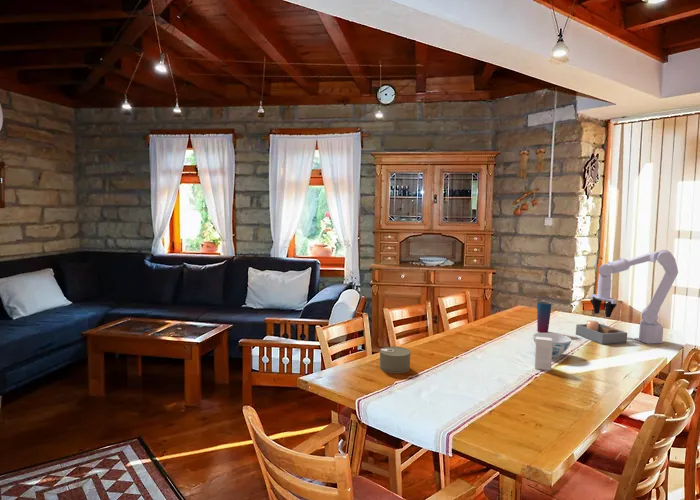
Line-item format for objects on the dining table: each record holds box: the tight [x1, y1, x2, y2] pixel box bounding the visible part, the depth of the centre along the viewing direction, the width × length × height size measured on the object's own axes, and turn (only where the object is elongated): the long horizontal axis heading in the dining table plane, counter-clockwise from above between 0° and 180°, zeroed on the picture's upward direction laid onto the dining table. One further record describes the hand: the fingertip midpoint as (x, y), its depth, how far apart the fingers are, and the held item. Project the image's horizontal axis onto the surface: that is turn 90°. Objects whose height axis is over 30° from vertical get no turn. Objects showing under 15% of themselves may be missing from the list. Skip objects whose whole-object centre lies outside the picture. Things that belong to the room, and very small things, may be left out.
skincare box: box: [534, 337, 553, 371], centre depth 187 cm, size 6×4×12 cm
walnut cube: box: [601, 326, 619, 334], centre depth 228 cm, size 5×5×5 cm
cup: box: [536, 300, 552, 333], centre depth 241 cm, size 7×7×15 cm
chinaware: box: [532, 332, 572, 358], centre depth 204 cm, size 15×15×8 cm
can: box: [379, 345, 412, 374], centre depth 184 cm, size 12×12×7 cm
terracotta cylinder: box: [586, 320, 600, 332], centre depth 233 cm, size 5×5×7 cm
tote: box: [575, 322, 628, 346], centre depth 231 cm, size 14×18×5 cm
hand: (602, 315), depth 237 cm, fingers open, 7 cm apart
